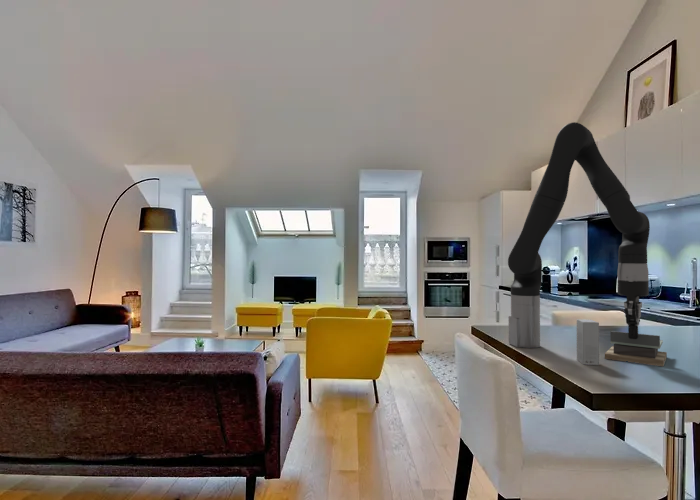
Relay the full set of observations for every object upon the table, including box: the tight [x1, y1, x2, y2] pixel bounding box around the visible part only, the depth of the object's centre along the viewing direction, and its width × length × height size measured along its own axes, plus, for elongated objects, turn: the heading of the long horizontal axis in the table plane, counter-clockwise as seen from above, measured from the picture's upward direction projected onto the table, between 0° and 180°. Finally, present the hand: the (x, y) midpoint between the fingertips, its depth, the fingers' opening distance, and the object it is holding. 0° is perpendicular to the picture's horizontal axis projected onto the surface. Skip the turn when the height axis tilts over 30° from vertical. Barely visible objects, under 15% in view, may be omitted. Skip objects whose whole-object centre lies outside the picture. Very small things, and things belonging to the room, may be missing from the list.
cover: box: [610, 330, 664, 350], centre depth 128 cm, size 12×12×4 cm
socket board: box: [604, 344, 668, 367], centre depth 126 cm, size 14×14×4 cm
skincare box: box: [576, 318, 600, 366], centre depth 120 cm, size 6×4×12 cm
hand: (633, 338), depth 122 cm, fingers closed
